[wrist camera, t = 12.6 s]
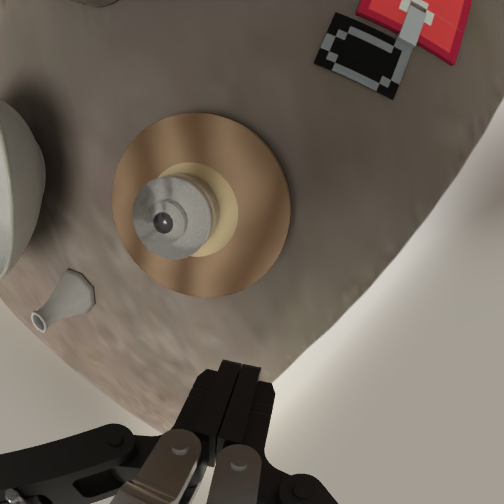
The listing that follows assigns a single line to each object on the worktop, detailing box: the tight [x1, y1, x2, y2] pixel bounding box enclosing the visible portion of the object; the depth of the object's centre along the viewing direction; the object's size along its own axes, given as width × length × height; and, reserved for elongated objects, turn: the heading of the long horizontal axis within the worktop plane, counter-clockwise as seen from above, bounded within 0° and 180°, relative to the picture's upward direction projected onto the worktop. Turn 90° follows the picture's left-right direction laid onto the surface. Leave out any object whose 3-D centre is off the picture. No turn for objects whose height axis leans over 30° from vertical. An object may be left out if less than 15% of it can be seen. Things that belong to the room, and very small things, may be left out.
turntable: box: [112, 113, 291, 298], centre depth 32 cm, size 20×20×3 cm
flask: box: [31, 269, 95, 333], centre depth 38 cm, size 7×7×10 cm
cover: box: [132, 172, 220, 260], centre depth 29 cm, size 8×8×5 cm
